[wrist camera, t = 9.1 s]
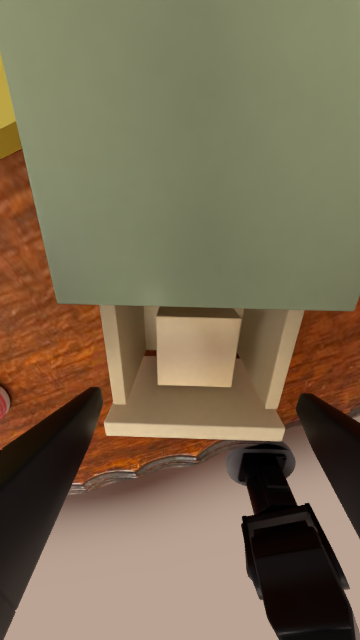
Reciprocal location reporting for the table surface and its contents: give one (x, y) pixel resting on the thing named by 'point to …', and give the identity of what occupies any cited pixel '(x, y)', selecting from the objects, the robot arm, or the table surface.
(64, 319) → the table surface
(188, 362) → the block
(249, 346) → the drawer
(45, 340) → the table surface
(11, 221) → the table surface
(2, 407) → the pill bottle
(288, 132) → the cabinet
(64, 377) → the table surface
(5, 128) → the flat olive board
